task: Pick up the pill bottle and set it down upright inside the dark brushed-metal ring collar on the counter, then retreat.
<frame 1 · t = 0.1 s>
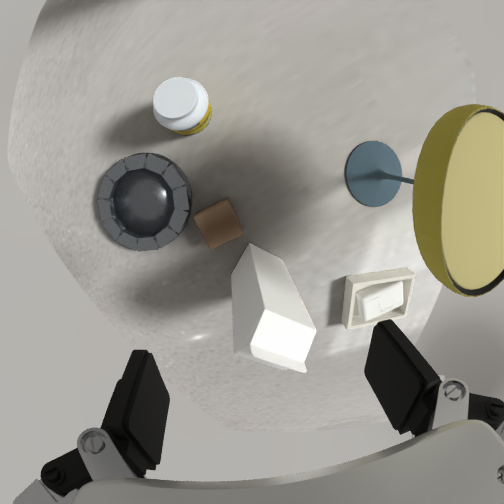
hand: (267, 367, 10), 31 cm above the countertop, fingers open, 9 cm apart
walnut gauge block: (219, 219, 40), on the countertop
soap dish: (375, 294, 47), on the countertop
milk: (256, 266, 43), on the countertop
cocktail glass: (374, 173, 39), on the countertop
pill bottle: (190, 114, 34), on the countertop
collar: (144, 201, 38), on the countertop
soap: (376, 294, 46), resting on soap dish
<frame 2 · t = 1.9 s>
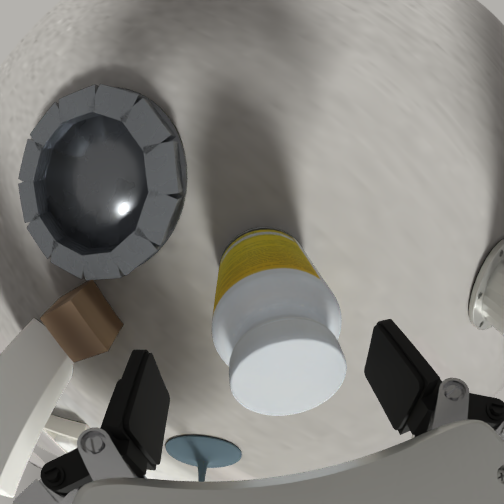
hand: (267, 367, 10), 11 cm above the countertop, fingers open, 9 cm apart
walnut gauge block: (90, 310, 21), on the countertop
soap dish: (84, 441, 30), on the countertop
milk: (53, 347, 23), on the countertop
cocktail glass: (203, 451, 30), on the countertop
pill bottle: (263, 265, 21), on the countertop
collar: (96, 182, 17), on the countertop
soap: (84, 443, 30), resting on soap dish
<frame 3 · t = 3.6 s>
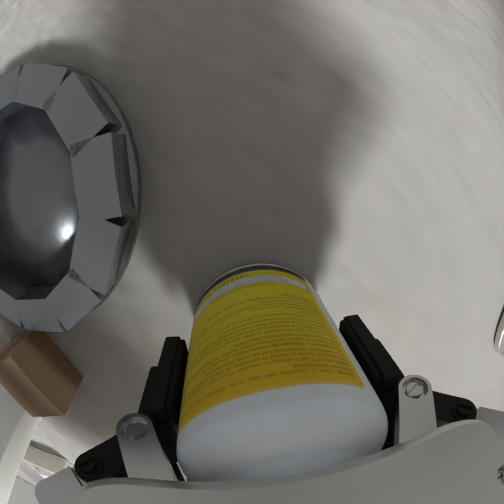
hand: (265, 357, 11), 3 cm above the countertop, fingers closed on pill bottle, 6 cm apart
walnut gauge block: (45, 356, 14), on the countertop
soap dish: (67, 471, 23), on the countertop
milk: (17, 387, 16), on the countertop
pill bottle: (258, 314, 14), on the countertop, touching gripper
collar: (27, 198, 10), on the countertop
soap: (68, 474, 22), resting on soap dish
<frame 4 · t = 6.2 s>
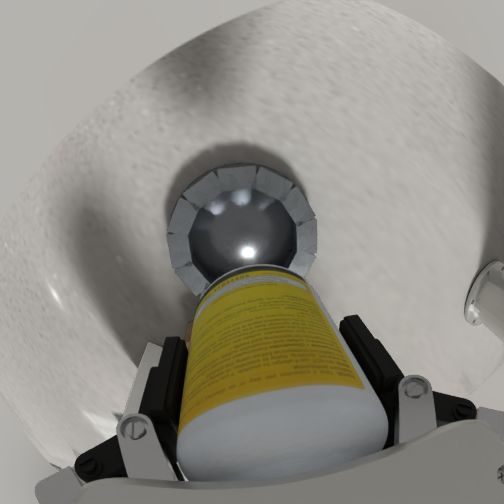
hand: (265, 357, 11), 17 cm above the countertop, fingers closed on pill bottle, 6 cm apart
milk: (163, 363, 32), on the countertop
pill bottle: (258, 315, 14), point 14 cm above the countertop, touching gripper
collar: (242, 237, 27), on the countertop
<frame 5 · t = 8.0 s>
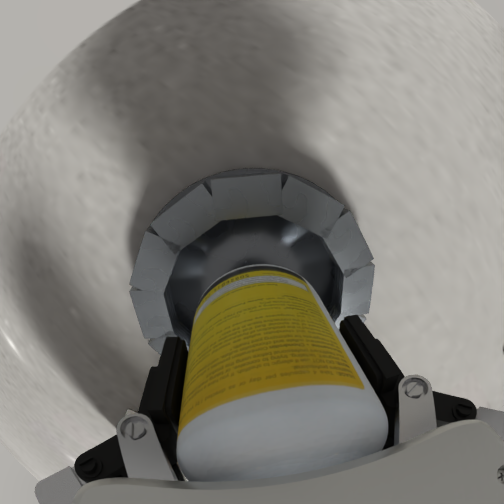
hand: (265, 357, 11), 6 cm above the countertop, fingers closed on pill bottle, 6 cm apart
pill bottle: (258, 315, 14), point 3 cm above the countertop, touching gripper
collar: (253, 289, 17), on the countertop
when the fingers open (4 cm above the countertop, at t = 9.3 s): pill bottle stays where it is, resting on collar.
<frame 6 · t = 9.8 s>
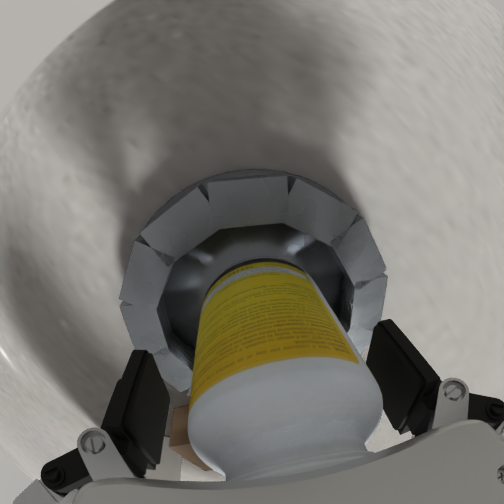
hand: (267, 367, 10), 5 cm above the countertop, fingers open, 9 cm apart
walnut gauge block: (216, 416, 19), on the countertop
milk: (147, 441, 20), on the countertop
pill bottle: (261, 305, 15), resting on collar
collar: (255, 302, 15), on the countertop
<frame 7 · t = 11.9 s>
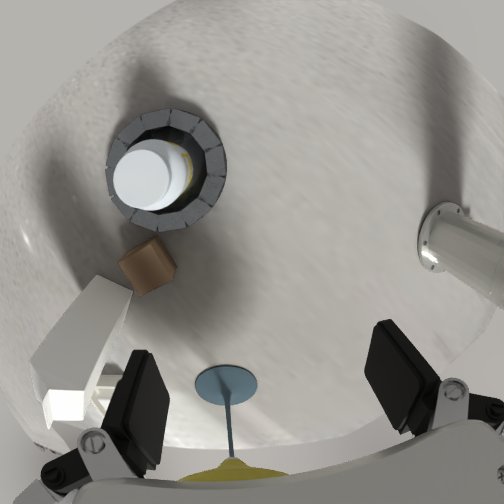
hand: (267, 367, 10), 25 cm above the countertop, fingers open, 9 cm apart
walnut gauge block: (152, 259, 34), on the countertop
soap dish: (118, 397, 42), on the countertop
milk: (110, 298, 35), on the countertop
cocktail glass: (226, 385, 43), on the countertop
pill bottle: (167, 169, 30), resting on collar
collar: (165, 169, 30), on the countertop
soap: (121, 401, 42), resting on soap dish
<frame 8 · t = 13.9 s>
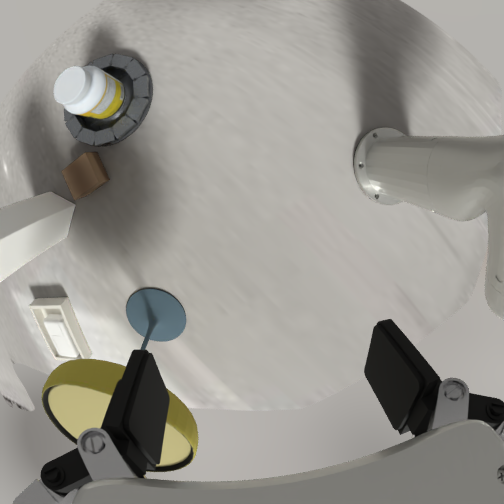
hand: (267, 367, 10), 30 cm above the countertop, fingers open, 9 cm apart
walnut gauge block: (91, 174, 35), on the countertop
soap dish: (63, 326, 43), on the countertop
milk: (59, 213, 36), on the countertop
cocktail glass: (155, 315, 44), on the countertop
pill bottle: (108, 99, 31), resting on collar
collar: (107, 99, 31), on the countertop
soap: (65, 331, 43), resting on soap dish
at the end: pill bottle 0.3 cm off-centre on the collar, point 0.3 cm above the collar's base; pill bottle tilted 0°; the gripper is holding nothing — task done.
